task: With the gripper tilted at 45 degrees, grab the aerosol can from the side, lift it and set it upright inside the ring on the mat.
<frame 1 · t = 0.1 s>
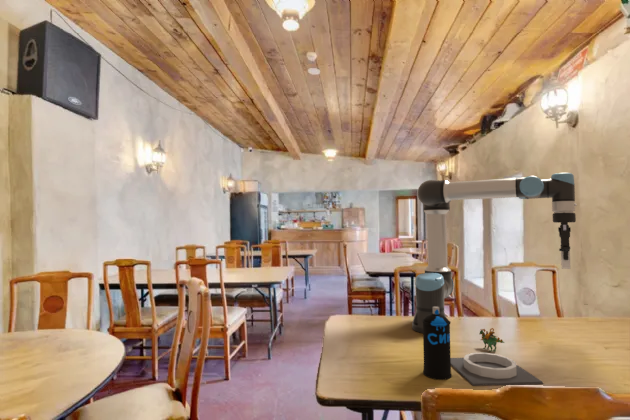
hand: (565, 266, 146), 28 cm above the table, tool pointing down, fingers open, 13 cm apart
aerosol can: (437, 374, 112), on the table
can holder: (489, 370, 115), on the table
figurine: (491, 351, 133), on the table
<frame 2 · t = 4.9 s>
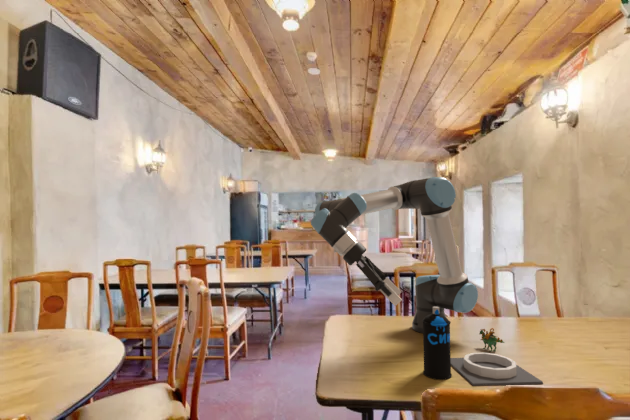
hand: (398, 298, 115), 22 cm above the table, tool tilted 45°, fingers open, 13 cm apart
nothing on the table moved.
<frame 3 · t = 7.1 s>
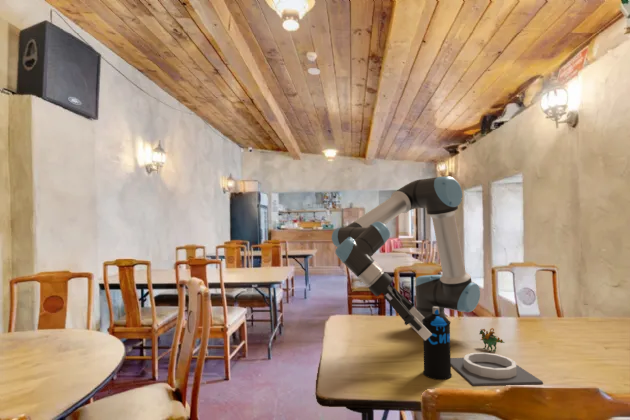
hand: (427, 330, 113), 13 cm above the table, tool tilted 45°, fingers open, 13 cm apart
nothing on the table moved.
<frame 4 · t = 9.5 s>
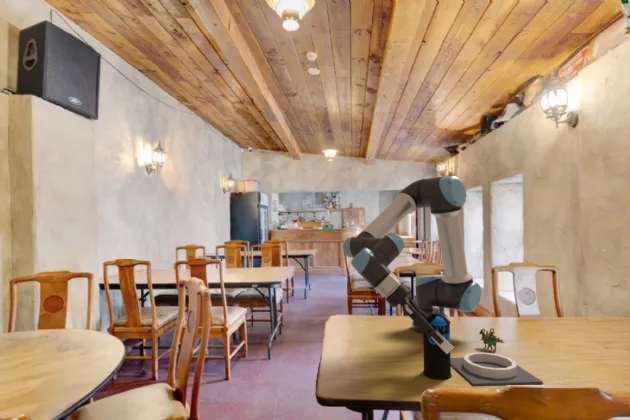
hand: (448, 345, 112), 9 cm above the table, tool tilted 45°, fingers closed on aerosol can, 8 cm apart
aerosol can: (437, 374, 112), on the table, touching gripper
everything else where it was.
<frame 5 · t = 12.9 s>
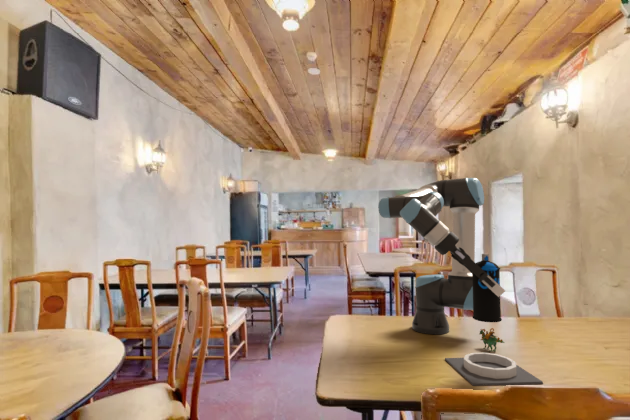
hand: (497, 291, 115), 24 cm above the table, tool tilted 45°, fingers closed on aerosol can, 8 cm apart
aerosol can: (486, 319, 115), point 16 cm above the table, touching gripper
everything else where it was.
when the fingers open (11 cm above the table, at t = 16.5 s): aerosol can drops 1 cm, resting on can holder.
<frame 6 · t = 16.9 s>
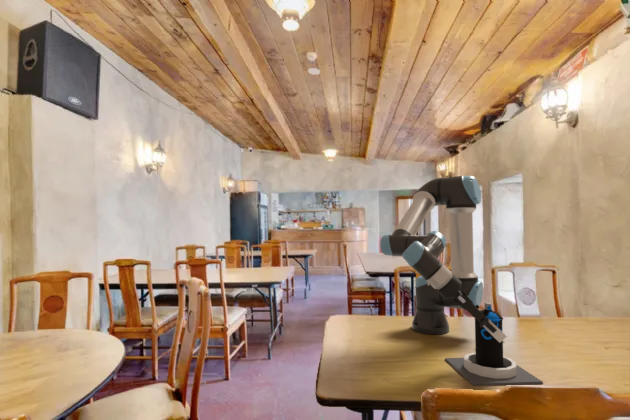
hand: (497, 332, 115), 12 cm above the table, tool tilted 45°, fingers open, 13 cm apart
aerosol can: (489, 369, 115), resting on can holder
everything else where it was.
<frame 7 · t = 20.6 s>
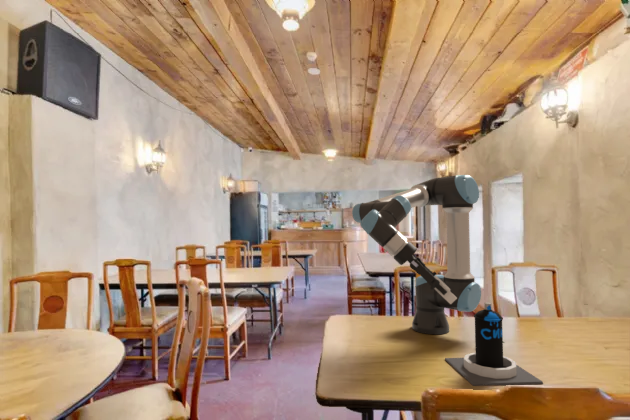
hand: (450, 296, 118), 22 cm above the table, tool tilted 45°, fingers open, 13 cm apart
nothing on the table moved.
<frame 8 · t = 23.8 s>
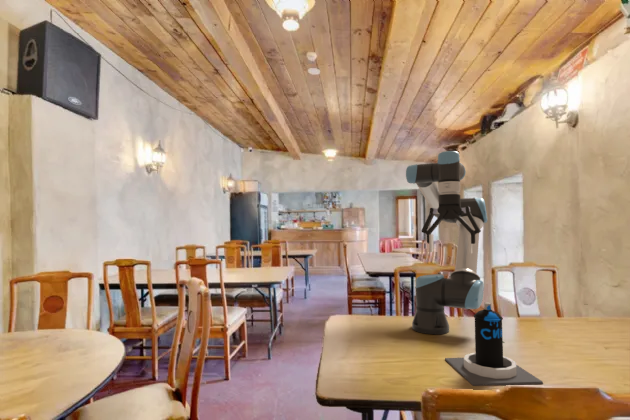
hand: (450, 252, 135), 35 cm above the table, tool pointing down, fingers open, 13 cm apart
nothing on the table moved.
at the end: aerosol can 0.1 cm off-centre on the can holder, point 0.4 cm above the can holder's base; aerosol can tilted 0°; the gripper is holding nothing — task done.
